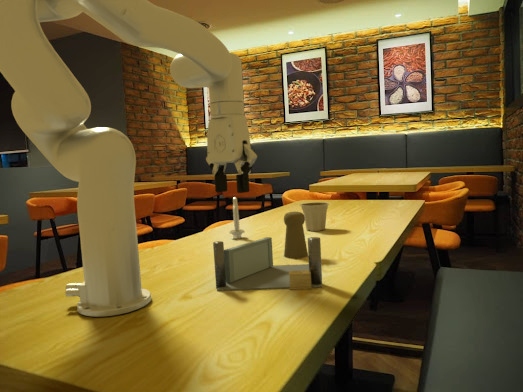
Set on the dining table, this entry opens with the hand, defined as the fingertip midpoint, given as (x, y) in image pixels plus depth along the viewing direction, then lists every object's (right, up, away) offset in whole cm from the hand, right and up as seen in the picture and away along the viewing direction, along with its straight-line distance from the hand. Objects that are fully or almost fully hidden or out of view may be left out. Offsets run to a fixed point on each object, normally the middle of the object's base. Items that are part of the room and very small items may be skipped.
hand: (232, 191), depth 96 cm
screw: (-1, -14, +37) cm, 40 cm away
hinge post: (-1, -19, -13) cm, 23 cm away
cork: (+15, -16, +10) cm, 25 cm away
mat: (+9, -18, -7) cm, 21 cm away
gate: (+4, -18, -6) cm, 19 cm away
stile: (+15, -18, -15) cm, 28 cm away
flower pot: (+25, -12, +44) cm, 52 cm away
